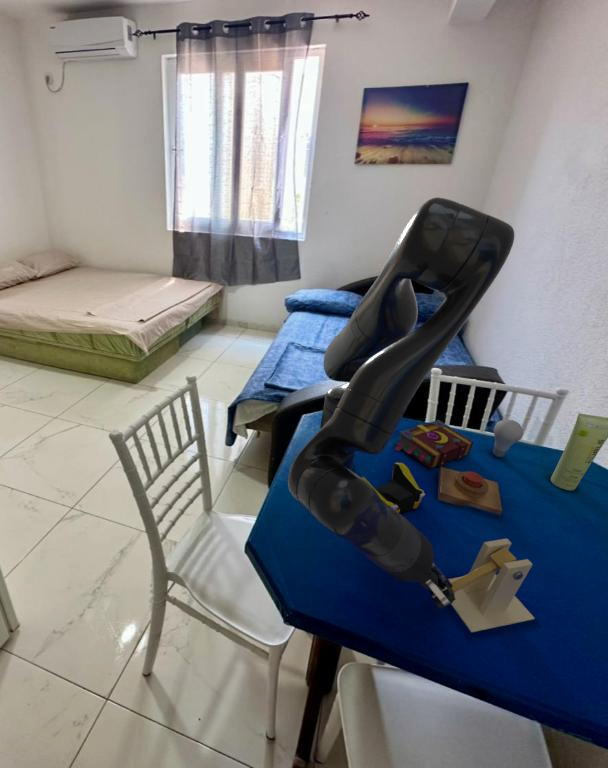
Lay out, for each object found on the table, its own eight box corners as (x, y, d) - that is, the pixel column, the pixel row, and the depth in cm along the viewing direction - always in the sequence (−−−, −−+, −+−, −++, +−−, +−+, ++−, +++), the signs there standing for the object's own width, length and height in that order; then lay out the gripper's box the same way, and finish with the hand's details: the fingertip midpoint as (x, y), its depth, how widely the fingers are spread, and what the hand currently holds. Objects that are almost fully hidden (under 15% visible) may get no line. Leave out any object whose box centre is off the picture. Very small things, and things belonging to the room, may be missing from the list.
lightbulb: (514, 465, 103) (531, 429, 98) (488, 461, 104) (504, 426, 99) (505, 450, 108) (520, 416, 103) (480, 447, 109) (494, 413, 104)
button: (463, 485, 91) (465, 479, 90) (462, 475, 94) (464, 469, 93) (481, 490, 89) (483, 484, 89) (480, 480, 92) (482, 474, 91)
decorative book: (469, 455, 106) (476, 440, 104) (426, 472, 100) (432, 456, 97) (433, 432, 115) (438, 417, 113) (391, 446, 109) (395, 431, 106)
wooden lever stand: (469, 636, 65) (497, 584, 59) (433, 585, 72) (454, 535, 66) (532, 622, 67) (565, 571, 61) (490, 575, 75) (516, 525, 69)
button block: (437, 499, 91) (442, 486, 90) (438, 473, 99) (442, 460, 98) (498, 518, 87) (505, 504, 85) (494, 489, 95) (500, 476, 93)
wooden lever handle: (441, 614, 65) (436, 604, 63) (427, 593, 68) (422, 583, 66) (522, 571, 64) (519, 560, 62) (504, 552, 67) (501, 541, 65)
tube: (565, 494, 94) (605, 424, 85) (543, 480, 98) (579, 412, 89) (580, 488, 96) (621, 419, 87) (557, 474, 100) (594, 407, 91)
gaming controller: (348, 494, 92) (381, 526, 84) (352, 476, 89) (386, 506, 82) (395, 476, 98) (430, 503, 90) (401, 458, 96) (437, 485, 88)
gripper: (446, 568, 50) (497, 612, 58) (388, 493, 61) (437, 538, 69) (398, 602, 51) (453, 640, 60) (349, 523, 63) (402, 564, 71)
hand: (444, 585), depth 64 cm, fingers closed
